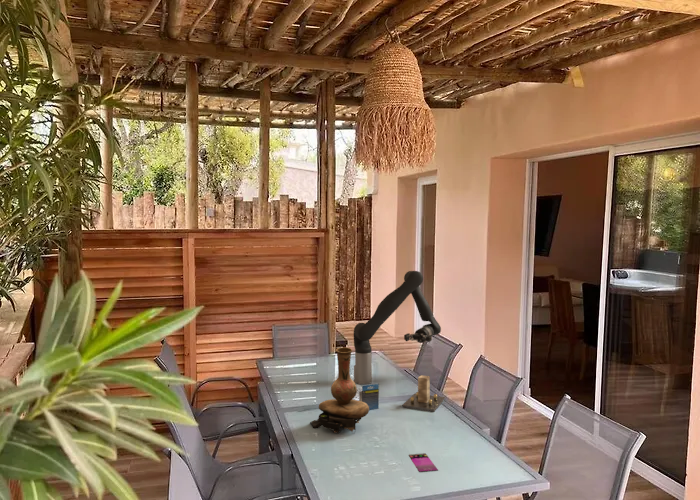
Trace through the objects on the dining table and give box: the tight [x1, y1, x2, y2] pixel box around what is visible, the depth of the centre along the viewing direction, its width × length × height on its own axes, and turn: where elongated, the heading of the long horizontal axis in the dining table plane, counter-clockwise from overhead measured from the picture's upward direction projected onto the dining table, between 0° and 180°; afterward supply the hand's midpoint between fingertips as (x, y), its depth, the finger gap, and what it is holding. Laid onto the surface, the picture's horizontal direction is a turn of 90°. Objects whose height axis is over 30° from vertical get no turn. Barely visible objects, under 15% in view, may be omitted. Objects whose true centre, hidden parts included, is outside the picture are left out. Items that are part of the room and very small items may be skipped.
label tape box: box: [358, 383, 380, 411], centre depth 264 cm, size 9×4×12 cm, turn 112°
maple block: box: [417, 375, 431, 403], centre depth 271 cm, size 4×4×12 cm
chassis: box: [401, 391, 446, 413], centre depth 271 cm, size 16×20×4 cm
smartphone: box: [408, 452, 439, 473], centre depth 204 cm, size 7×15×1 cm, turn 10°
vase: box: [309, 347, 370, 434], centre depth 241 cm, size 24×22×35 cm
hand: (413, 340), depth 288 cm, fingers open, 8 cm apart
